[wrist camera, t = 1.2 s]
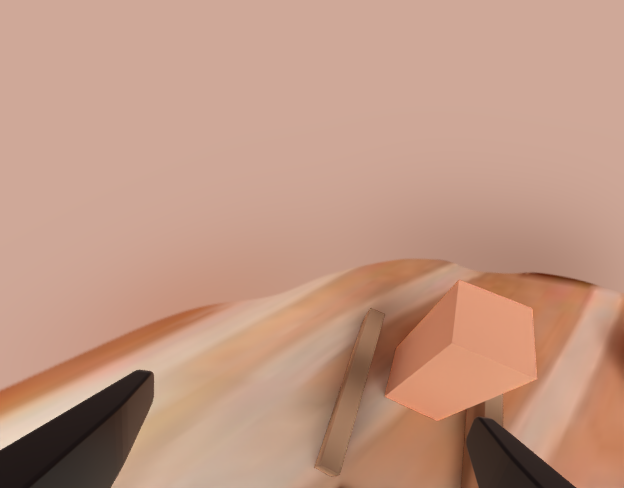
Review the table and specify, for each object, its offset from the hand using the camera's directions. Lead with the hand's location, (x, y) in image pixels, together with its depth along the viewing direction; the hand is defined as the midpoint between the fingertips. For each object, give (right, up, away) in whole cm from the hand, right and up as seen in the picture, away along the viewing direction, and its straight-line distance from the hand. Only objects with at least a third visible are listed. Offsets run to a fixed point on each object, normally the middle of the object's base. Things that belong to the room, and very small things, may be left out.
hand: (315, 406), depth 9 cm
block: (+8, -6, +15) cm, 18 cm away
